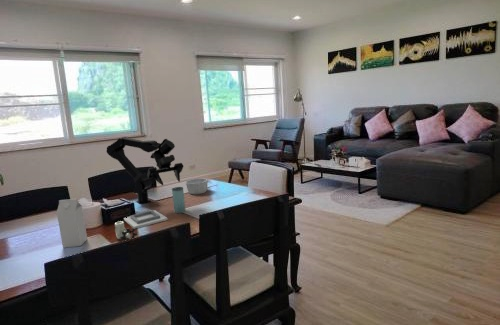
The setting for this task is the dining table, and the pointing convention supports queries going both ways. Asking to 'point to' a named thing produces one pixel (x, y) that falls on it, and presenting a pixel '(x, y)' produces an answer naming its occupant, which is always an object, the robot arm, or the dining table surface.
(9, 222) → the dining table surface
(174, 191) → the cup
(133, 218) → the dock
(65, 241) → the milk carton
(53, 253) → the dining table surface
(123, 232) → the valve
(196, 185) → the ramekin
